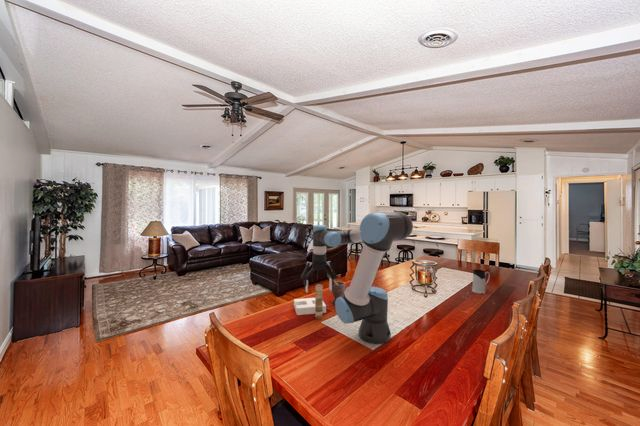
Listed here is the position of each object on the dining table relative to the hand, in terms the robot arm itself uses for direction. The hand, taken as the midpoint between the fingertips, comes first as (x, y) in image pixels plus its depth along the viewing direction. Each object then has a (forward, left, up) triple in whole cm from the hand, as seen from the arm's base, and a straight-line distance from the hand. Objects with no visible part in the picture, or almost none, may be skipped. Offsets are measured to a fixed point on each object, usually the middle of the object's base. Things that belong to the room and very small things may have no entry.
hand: (318, 290), depth 147 cm
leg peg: (0, 0, -15) cm, 15 cm away
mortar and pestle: (+16, -15, -15) cm, 27 cm away
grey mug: (+17, -126, -15) cm, 128 cm away
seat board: (+12, +3, -15) cm, 19 cm away
